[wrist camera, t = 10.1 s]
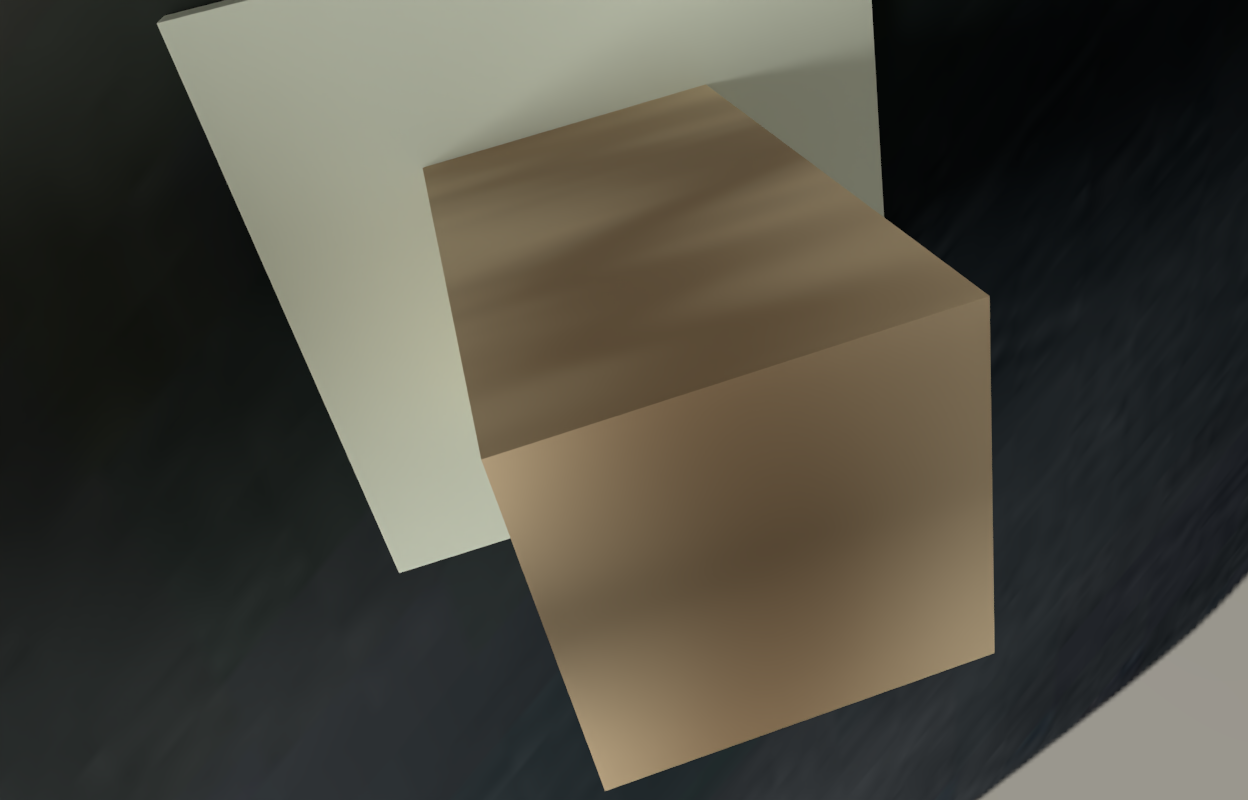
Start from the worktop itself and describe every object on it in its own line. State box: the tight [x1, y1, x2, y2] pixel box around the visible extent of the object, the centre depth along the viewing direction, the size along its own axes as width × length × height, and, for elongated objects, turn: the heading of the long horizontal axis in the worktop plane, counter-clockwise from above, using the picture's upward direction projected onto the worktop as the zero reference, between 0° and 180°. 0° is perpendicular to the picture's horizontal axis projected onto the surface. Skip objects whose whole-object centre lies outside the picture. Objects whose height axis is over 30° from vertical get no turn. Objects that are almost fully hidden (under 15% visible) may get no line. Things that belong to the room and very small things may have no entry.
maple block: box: [423, 84, 995, 791], centre depth 13 cm, size 4×4×8 cm
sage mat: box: [157, 0, 884, 573], centre depth 16 cm, size 10×10×1 cm
